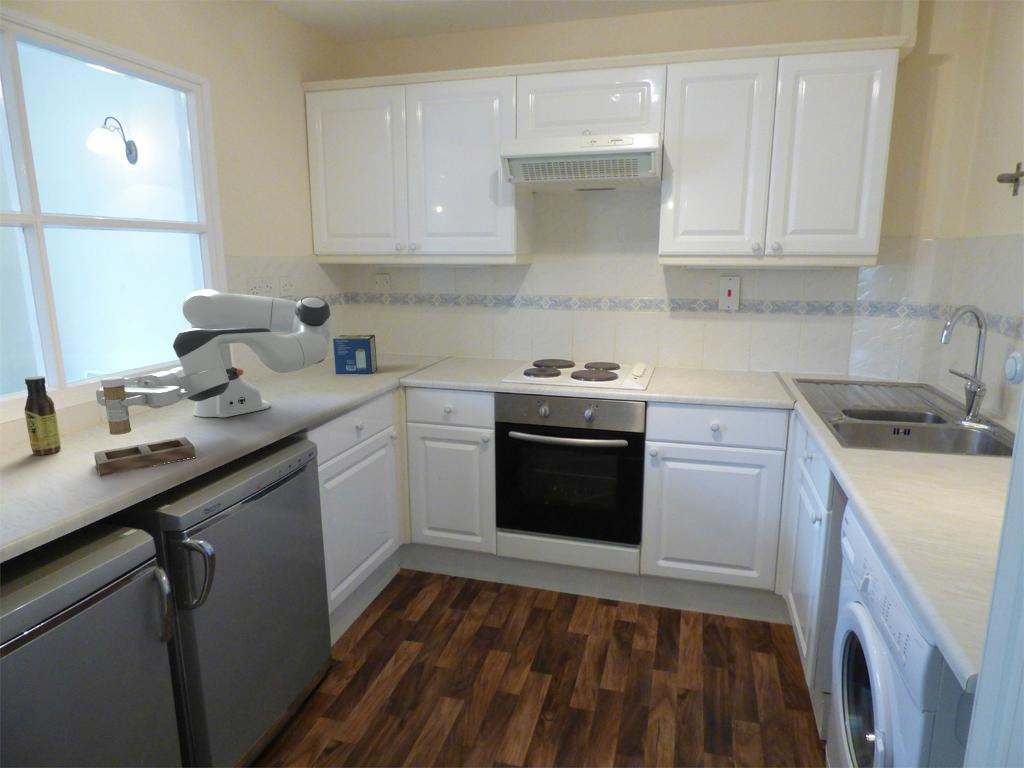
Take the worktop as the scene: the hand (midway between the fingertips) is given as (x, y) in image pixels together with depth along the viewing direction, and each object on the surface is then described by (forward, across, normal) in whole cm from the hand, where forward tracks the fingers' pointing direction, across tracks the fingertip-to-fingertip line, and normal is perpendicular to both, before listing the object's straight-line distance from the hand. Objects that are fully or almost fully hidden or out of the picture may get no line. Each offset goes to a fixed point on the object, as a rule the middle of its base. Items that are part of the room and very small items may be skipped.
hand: (113, 403), depth 146 cm
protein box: (-122, -2, -16) cm, 123 cm away
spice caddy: (-4, -3, -16) cm, 16 cm away
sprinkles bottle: (-1, 0, -8) cm, 8 cm away
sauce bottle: (-6, +29, -16) cm, 34 cm away
